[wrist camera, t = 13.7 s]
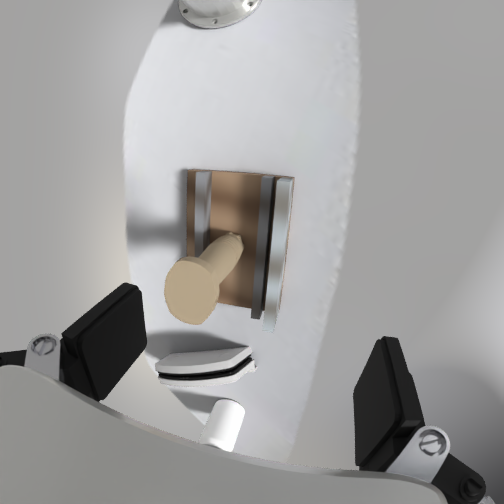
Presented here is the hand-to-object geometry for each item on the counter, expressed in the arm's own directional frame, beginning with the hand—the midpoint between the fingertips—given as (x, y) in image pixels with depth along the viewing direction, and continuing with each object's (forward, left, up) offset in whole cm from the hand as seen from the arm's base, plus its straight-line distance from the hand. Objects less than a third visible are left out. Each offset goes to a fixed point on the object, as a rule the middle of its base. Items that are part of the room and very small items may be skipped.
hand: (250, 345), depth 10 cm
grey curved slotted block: (+28, -12, -29) cm, 42 cm away
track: (+6, -8, -29) cm, 30 cm away
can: (+42, -8, -29) cm, 51 cm away
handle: (+6, -8, -27) cm, 29 cm away
